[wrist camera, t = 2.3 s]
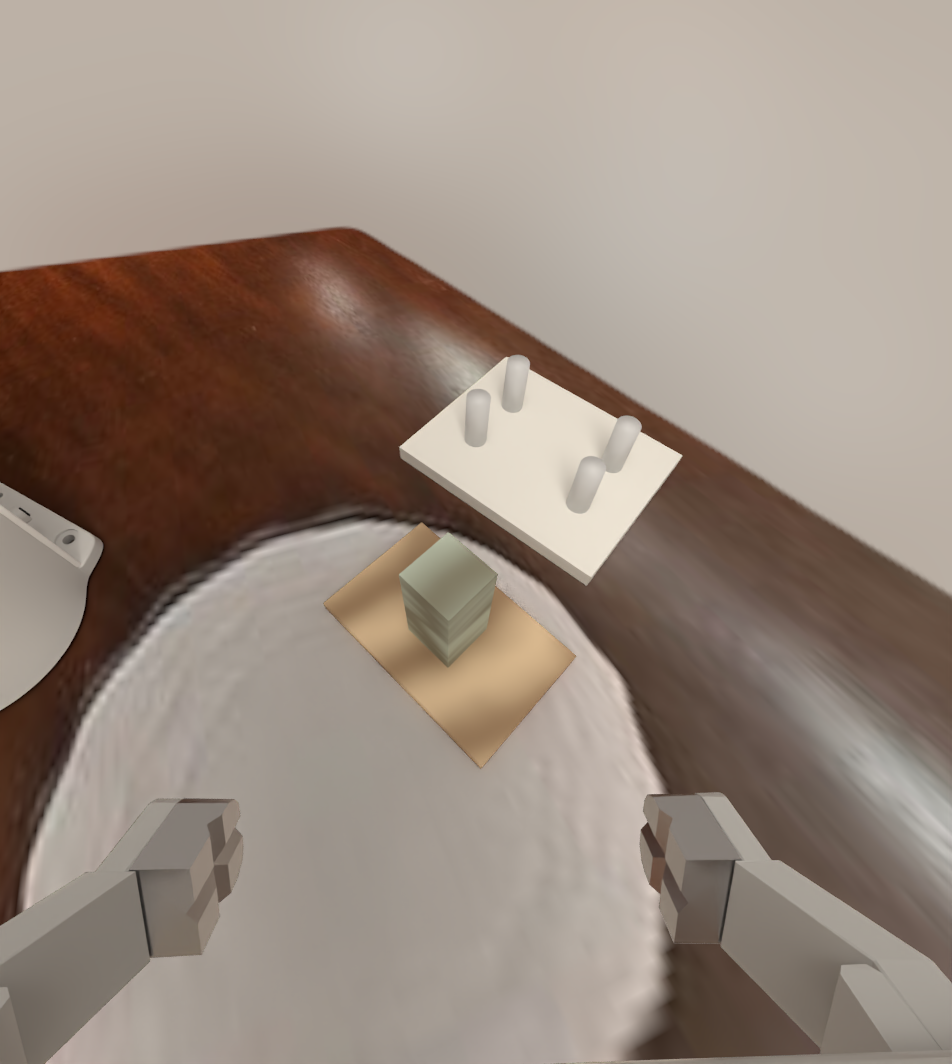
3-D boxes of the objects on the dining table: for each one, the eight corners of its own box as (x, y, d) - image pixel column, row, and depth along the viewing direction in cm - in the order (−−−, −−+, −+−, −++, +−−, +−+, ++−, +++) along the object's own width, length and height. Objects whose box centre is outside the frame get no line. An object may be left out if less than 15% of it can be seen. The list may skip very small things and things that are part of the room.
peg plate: (400, 458, 45) (394, 405, 40) (504, 368, 52) (512, 313, 47) (586, 585, 39) (609, 545, 34) (675, 466, 46) (707, 416, 41)
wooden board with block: (326, 609, 38) (290, 542, 29) (422, 529, 42) (416, 450, 33) (480, 769, 33) (493, 746, 24) (572, 660, 37) (612, 607, 28)
